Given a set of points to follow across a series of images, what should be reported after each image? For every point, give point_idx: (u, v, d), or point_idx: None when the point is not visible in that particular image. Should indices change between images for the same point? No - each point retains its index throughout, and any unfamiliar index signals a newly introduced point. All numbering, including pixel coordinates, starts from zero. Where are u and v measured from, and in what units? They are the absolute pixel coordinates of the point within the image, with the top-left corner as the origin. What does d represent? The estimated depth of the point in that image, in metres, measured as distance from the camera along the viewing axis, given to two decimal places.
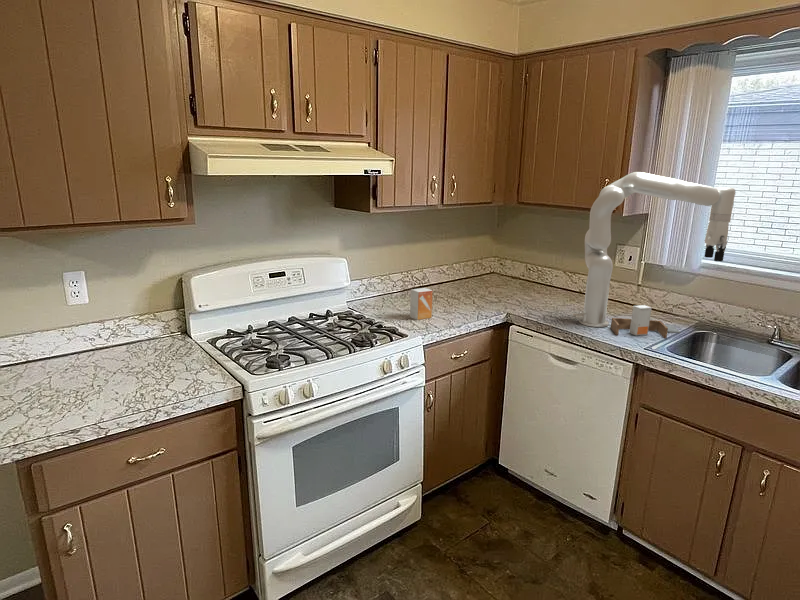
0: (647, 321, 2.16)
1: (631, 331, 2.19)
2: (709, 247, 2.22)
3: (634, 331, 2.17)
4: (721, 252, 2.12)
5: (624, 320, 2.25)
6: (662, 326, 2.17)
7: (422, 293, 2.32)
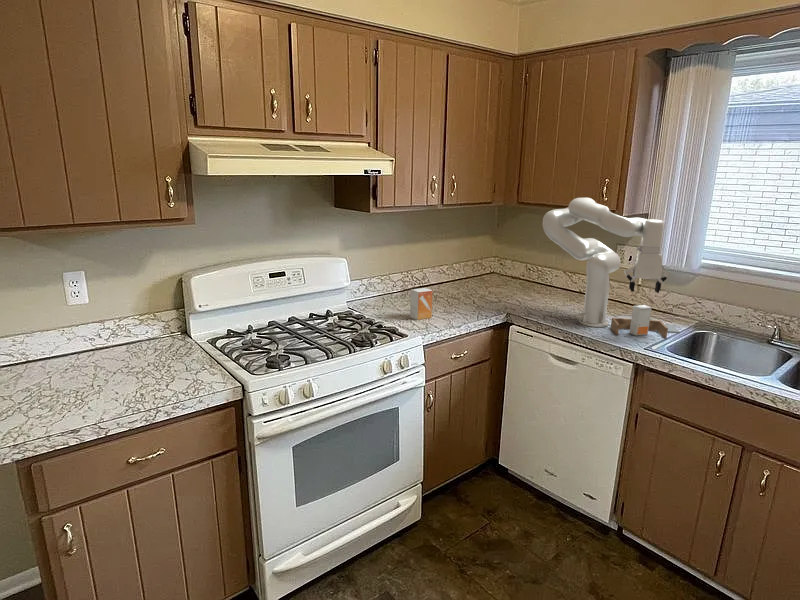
0: (647, 321, 2.16)
1: (631, 331, 2.19)
2: None
3: (634, 331, 2.17)
4: None
5: (624, 320, 2.25)
6: (662, 326, 2.17)
7: (422, 293, 2.32)
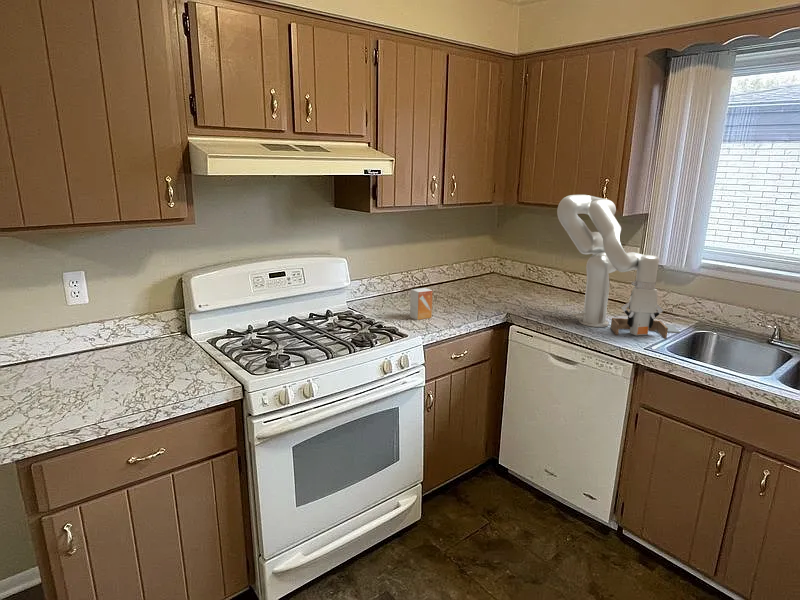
0: (647, 321, 2.16)
1: (631, 331, 2.19)
2: None
3: (634, 331, 2.17)
4: None
5: (624, 320, 2.25)
6: (662, 326, 2.17)
7: (422, 293, 2.32)
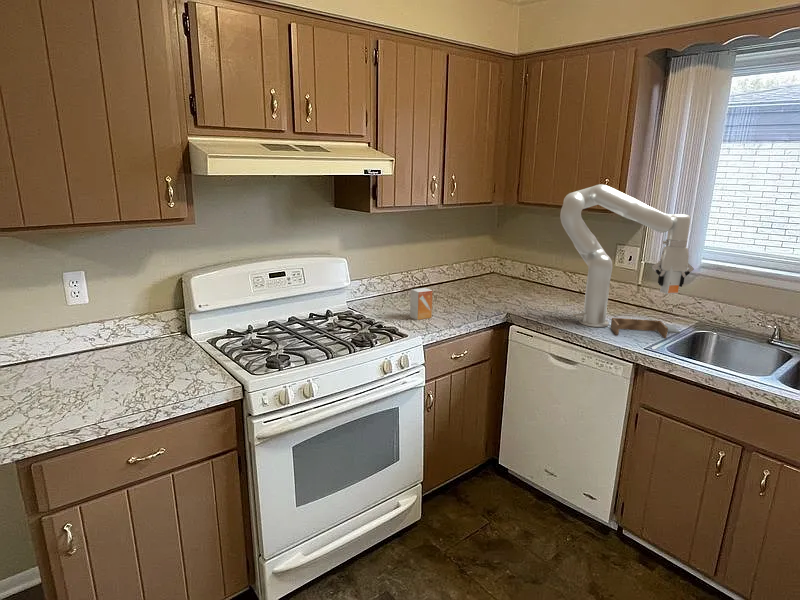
0: (678, 280, 2.20)
1: (662, 290, 2.22)
2: None
3: (665, 290, 2.21)
4: None
5: (624, 320, 2.25)
6: (662, 326, 2.17)
7: (422, 293, 2.32)
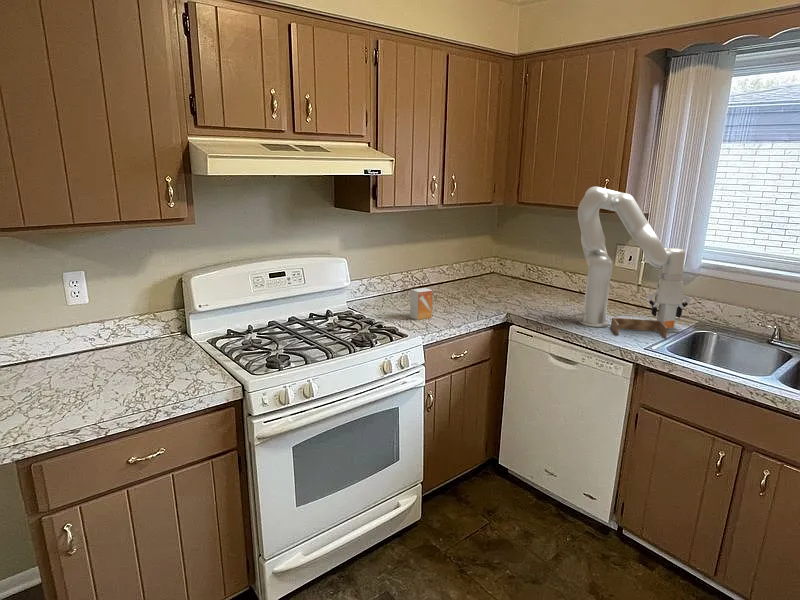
0: (673, 315, 2.24)
1: None
2: None
3: None
4: None
5: (624, 320, 2.25)
6: (662, 326, 2.17)
7: (422, 293, 2.32)
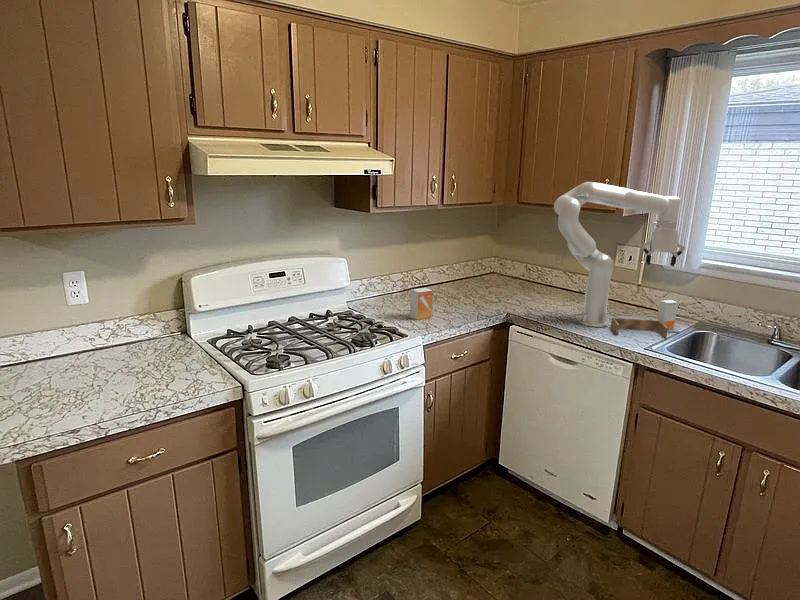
0: (673, 315, 2.23)
1: None
2: None
3: None
4: None
5: (624, 320, 2.25)
6: (662, 326, 2.17)
7: (422, 293, 2.32)
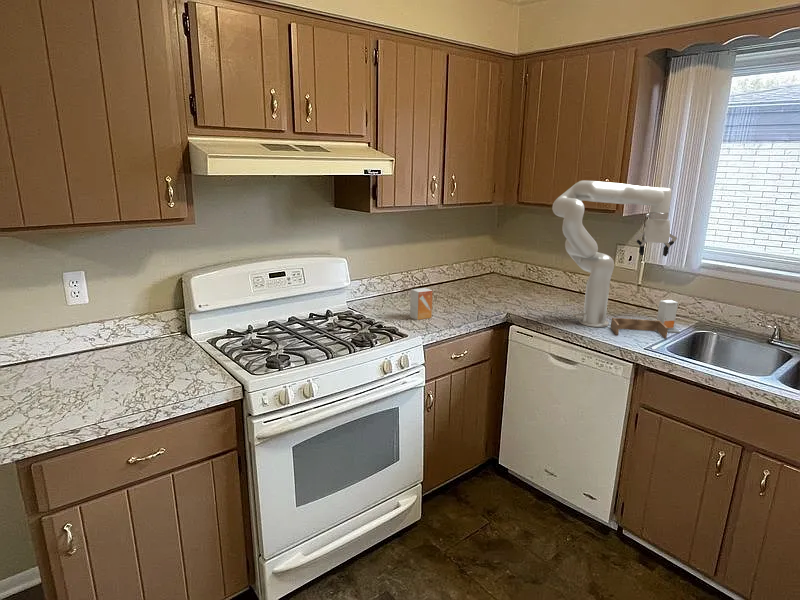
0: (673, 315, 2.23)
1: None
2: None
3: None
4: None
5: (624, 320, 2.25)
6: (662, 326, 2.17)
7: (422, 293, 2.32)
